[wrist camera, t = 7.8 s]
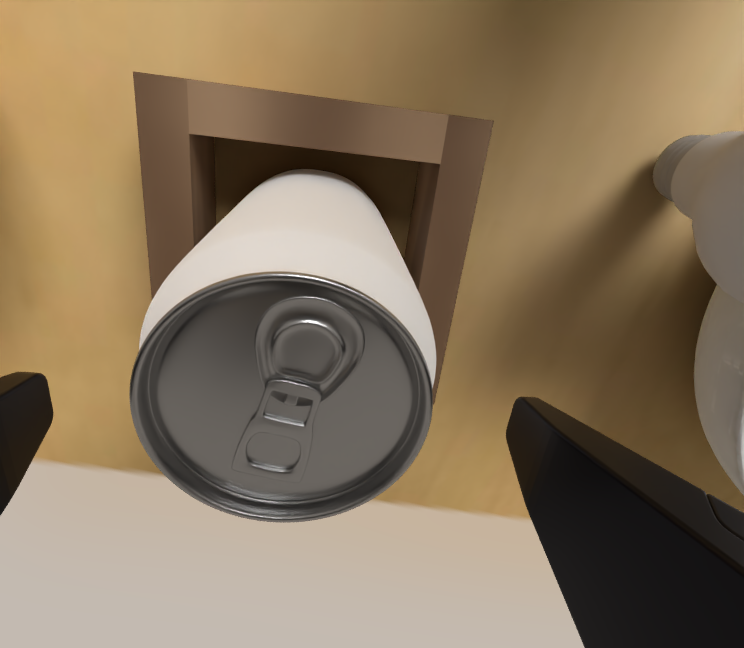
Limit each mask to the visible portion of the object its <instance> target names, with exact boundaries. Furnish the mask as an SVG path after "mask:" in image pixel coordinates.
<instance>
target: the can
mask: <svg viewBox="0 0 744 648" xmlns="http://www.w3.org/2000/svg"><path fill="white" fill-rule="evenodd" d="M435 373H436V347H435V340H434V335H433V330H432V326H431V323H430V319H429V316H428V314H427V311H426V309H425V306H424V303H423V301H422V299H421V296H420V294H419V292H418V290H417V288H416V286H415V283H414V281H413V279H412V277H411V275H410V273H409V271H408V269H407V267H406V264H405V262H404V260H403V258H402V256H401V254H400V252H399V250H398V248H397V246H396V244H395V242H394V240H393V238H392V236H391V234H390V232H389V230H388V228H387V226H386V224H385V222H384V220H383V218H382V216H381V214H380V212H379V211H378V209H377V207H376V206H375V204H374V203H373V201H372V200H371V199H370V198H369V197H368V195H367V194H366V193H365V192H364V191H363V190H362V189H361V188H360V187H359V186H357V185H356V184H355V183H353V182H352V181H350V180H349V179H347V178H345V177H343V176H340V175H338V174H334V173H331V172H327V171H322V170H314V169H296V170H290V171H286V172H283V173H280V174H277V175H275V176H273V177H271V178H269V179H267V180H266V181H264V182H263V183H261V184H260V185H259V186H257V187H256V188H255V189H254V190H253V191H251V192H250V193H249V194H248V195H247V196H246V197H245V198H244V199H243V200H242V201H241V202H240V203H239V204H238V205H237V206H236V207H235V208H233V209H232V210H231V211H230V212H229V213H228V214H227V215H226V216H225V217H224V218H223V219H222V220H221V221H220V222H219V223H218V224H217V225H216V226H215V227H214V228H213V229H212V230H211V231H210V232H209V233H208V234H207V235H206V236H205V237H204V238H203V239H202V240H201V241H200V242H199V243H198V244H197V245H196V246H195V247H194V248H193V249H192V250H191V251H190V252H189V253H188V254H187V255H186V256H185V257H184V258H183V259H182V260H181V262H180V263H179V264H178V265H177V266H176V267H175V268H174V269H173V271H172V272H171V273H170V274H169V275H168V277H167V278H166V279H165V281H164V282H163V283H162V285H161V286H160V288H159V290H158V291H157V293H156V295H155V296H154V298H153V300H152V302H151V304H150V306H149V308H148V311H147V313H146V316H145V319H144V322H143V326H142V330H141V335H140V344H139V352H138V355H137V357H136V360H135V363H134V366H133V370H132V375H131V381H130V408H131V414H132V419H133V423H134V426H135V429H136V432H137V434H138V437H139V439H140V441H141V443H142V445H143V447H144V449H145V450H146V452H147V454H148V455H149V457H150V458H151V460H152V461H153V462H154V464H155V465H156V466H157V467H158V468H159V469H160V471H161V472H162V473H163V474H164V475H165V476H166V477H167V478H168V479H169V480H170V481H172V482H173V483H174V484H175V485H176V486H178V487H179V488H180V489H181V490H183V491H184V492H186V493H187V494H189V495H190V496H192V497H193V498H195V499H197V500H199V501H201V502H202V503H204V504H207V505H208V506H210V507H213V508H215V509H218V510H220V511H223V512H226V513H229V514H232V515H235V516H239V517H243V518H247V519H253V520H260V521H267V522H302V521H310V520H317V519H322V518H326V517H330V516H334V515H337V514H341V513H343V512H346V511H349V510H351V509H354V508H356V507H358V506H360V505H362V504H364V503H366V502H368V501H370V500H371V499H373V498H375V497H376V496H378V495H379V494H381V493H382V492H384V491H385V490H386V489H388V488H389V487H390V486H391V485H392V484H394V483H395V482H396V481H397V480H398V479H399V478H400V477H401V476H402V475H403V474H404V472H405V471H406V470H407V469H408V468H409V467H410V465H411V464H412V462H413V461H414V460H415V458H416V456H417V455H418V453H419V451H420V449H421V448H422V445H423V443H424V441H425V439H426V436H427V433H428V430H429V426H430V422H431V417H432V409H433V390H432V389H433V384H434V379H435Z"/></svg>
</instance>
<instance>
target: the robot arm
mask: <svg viewBox="0 0 744 648" xmlns="http://www.w3.org/2000/svg"><path fill="white" fill-rule="evenodd" d="M52 420H53V407H52V402H51V397H50V392H49V387H48V382H47V379H46V377H45V376H44V375H43V374H41V373H33V372H15V373H12V374H9V375H6V376H3V377H0V515H1V514H2V512H3V511H4V509H5V508H6V506H7V505H8V503H9V502H10V500H11V498H12V496H13V495H14V493H15V491H16V490H17V488H18V486H19V484H20V482H21V480H22V479H23V477H24V475H25V473H26V471H27V469H28V467H29V465H30V463H31V462H32V460H33V458H34V456H35V454H36V452H37V450H38V448H39V446H40V445H41V443H42V441H43V439H44V437H45V435H46V433H47V431H48V429H49V427H50V425H51V423H52ZM506 440H507V444H508V447H509V451H510V454H511V457H512V461H513V464H514V468H515V471H516V474H517V478H518V481H519V485H520V488H521V491H522V495H523V498H524V501H525V504H526V507H527V509H528V512H529V515H530V517H531V520H532V522H533V524H534V527H535V529H536V531H537V534H538V536H539V539H540V541H541V544H542V546H543V548H544V551H545V553H546V556H547V558H548V560H549V563H550V565H551V568H552V570H553V572H554V575H555V577H556V580H557V582H558V584H559V587H560V589H561V592H562V594H563V596H564V599H565V601H566V604H567V606H568V609H569V611H570V613H571V616H572V618H573V621H574V623H575V625H576V628H577V630H578V633H579V635H580V637H581V640H582V642H583V645H584V647H585V648H744V513H743V512H741V511H739V510H737V509H735V508H734V507H732V506H730V505H728V504H726V503H725V502H723V501H721V500H719V499H717V498H716V497H714V496H712V495H710V494H707V495H706V493H705V492H704V491H703V490H701V489H699V488H698V487H696V486H694V485H692V484H691V483H689V482H687V481H685V480H683V479H682V478H680V477H678V476H676V475H674V474H673V473H671V472H669V471H667V470H666V469H664V468H662V467H660V466H658V465H657V464H655V463H653V462H651V461H649V460H648V459H646V458H644V457H642V456H641V455H639V454H637V453H635V452H633V451H632V450H630V449H628V448H626V447H624V446H623V445H621V444H619V443H617V442H616V441H614V440H612V439H610V438H608V437H607V436H605V435H603V434H601V433H599V432H598V431H596V430H594V429H592V428H591V427H589V426H587V425H585V424H583V423H582V422H580V421H578V420H576V419H575V418H573V417H571V416H569V415H567V414H566V413H564V412H562V411H560V410H558V409H557V408H555V407H553V406H551V405H550V404H548V403H546V402H544V401H542V400H541V399H539V398H535V397H519V398H517V399H516V401H515V403H514V405H513V409H512V412H511V416H510V419H509V422H508V426H507V430H506Z"/></svg>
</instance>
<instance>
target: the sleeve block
mask: <svg viewBox="0 0 744 648" xmlns="http://www.w3.org/2000/svg"><path fill="white" fill-rule="evenodd" d="M133 78H134V90H135V102H136V114H137V125H138V137H139V149H140V161H141V173H142V185H143V197H144V209H145V221H146V233H147V245H148V257H149V269H150V281H151V293H152V300H153V298H154V296H155V295H156V293H157V291H158V290H159V288H160V286H161V285H162V283H163V282H164V281H165V279H166V278H167V277H168V275H169V274H170V273H171V272H172V271H173V269H174V268H175V267H176V266H177V265H178V264H179V263H180V262H181V260H182V259H183V258H184V257H185V256H186V255H187V254H188V253H189V252H190V251H191V250H192V249H193V248H194V247H195V246H196V245H197V244H198V243H199V242H200V241H201V240H202V239H203V238H204V237H205V236H206V235H207V234H208V233H209V232H210V231H211V230H212V229H213V228H214V227H215V226H216V200H215V150H214V137H221V138H229V139H237V140H246V141H254V142H262V143H271V144H279V145H287V146H295V147H304V148H312V149H320V150H328V151H337V152H345V153H353V154H361V155H370V156H378V157H386V158H394V159H403V160H411V161H419V168H418V174H417V181H416V187H415V194H414V200H413V207H412V213H411V220H410V226H409V233H408V239H407V246H406V252H405V258H404V262H405V264H406V267H407V269H408V271H409V273H410V275H411V277H412V279H413V281H414V283H415V286H416V288H417V290H418V292H419V294H420V296H421V299H422V301H423V303H424V306H425V309H426V311H427V314H428V316H429V319H430V323H431V326H432V330H433V335H434V340H435V347H436V373H435V379H434V384H433V389H432V390H433V404H434V402H435V398H436V393H437V388H438V383H439V379H440V374H441V369H442V364H443V360H444V355H445V350H446V345H447V341H448V336H449V331H450V326H451V322H452V317H453V312H454V307H455V303H456V298H457V293H458V288H459V284H460V279H461V274H462V269H463V265H464V260H465V255H466V251H467V246H468V241H469V236H470V232H471V227H472V222H473V217H474V213H475V208H476V203H477V198H478V194H479V189H480V184H481V179H482V175H483V170H484V165H485V160H486V156H487V151H488V146H489V141H490V137H491V132H492V127H493V122H494V121H491V120H484V119H477V118H469V117H462V116H455V115H447V114H440V113H433V112H425V111H418V110H411V109H404V108H396V107H389V106H382V105H374V104H367V103H360V102H352V101H345V100H338V99H330V98H323V97H316V96H308V95H301V94H294V93H286V92H279V91H272V90H264V89H257V88H250V87H242V86H235V85H228V84H220V83H213V82H206V81H198V80H191V79H184V78H177V77H169V76H162V75H155V74H147V73H140V72H133Z"/></svg>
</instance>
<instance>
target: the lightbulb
mask: <svg viewBox="0 0 744 648" xmlns="http://www.w3.org/2000/svg"><path fill="white" fill-rule="evenodd" d="M653 182H654V185H655V187H656V189H657V191H658V192H659V193H660V194H662V195H663V196H665V197H666V198H667V199H669V200H670V201H672V202H674V203H675V205H676V207H677V208H678V209H679V211H680V212H681V213H683V214H684V215H686V216H687V217H689V218H690V219H692V227H693V233H694V239H695V244H696V249H697V254H698V256H699V258H700V260H701V262H702V264H703V266H704V268H705V269H706V271H707V272H708V273H709V275H710V276H711V277H712V279H713V280H714V281H715V282H716V283H717V284H718V286H719V287H720V288H721V289H722V290H723V291H724V292H725V293H727V294H729V295H730V296H732V297H733V298H735V299H736V300H738V301H739V302H741V303H742V304H744V132H741V131H731V132H723V133H719V134H715V135H713V136H710V135H691V136H686V137H683V138H680V139H678V140H676V141H675V142H673V143H672V144H670V145H669V146H668V147H667V148H666V149H665V150H664V151H663V152H662V153H661V155H660V156H659V158H658V159H657V161H656V164H655V166H654V170H653Z"/></svg>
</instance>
